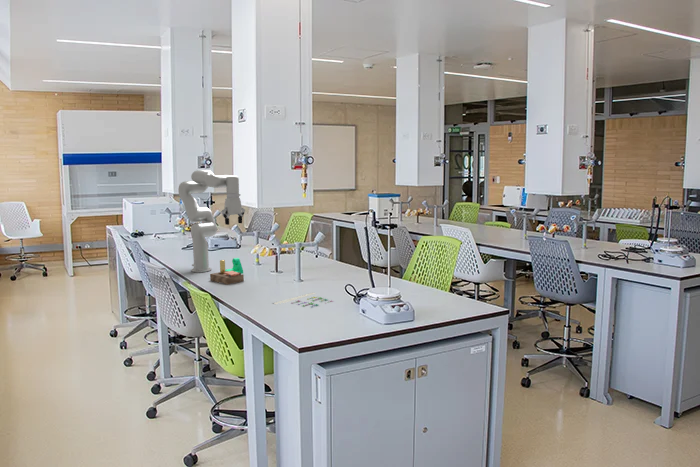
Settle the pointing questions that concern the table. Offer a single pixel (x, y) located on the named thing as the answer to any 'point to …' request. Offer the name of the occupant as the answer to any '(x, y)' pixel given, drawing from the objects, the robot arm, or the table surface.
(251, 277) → the table surface
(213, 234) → the robot arm
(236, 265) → the camera mount
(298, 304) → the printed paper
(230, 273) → the orange flat plate
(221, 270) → the brass pin
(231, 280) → the hitch block
